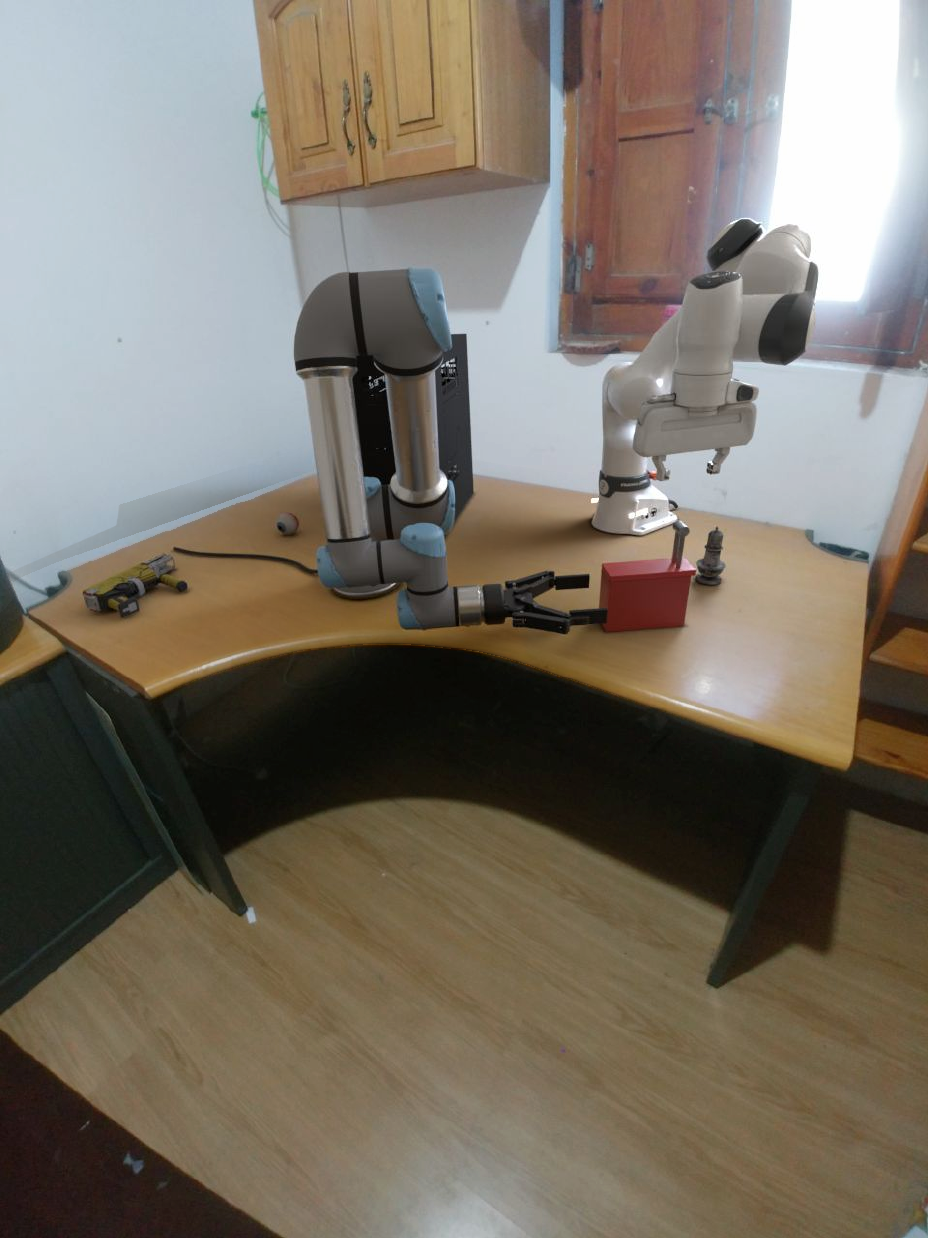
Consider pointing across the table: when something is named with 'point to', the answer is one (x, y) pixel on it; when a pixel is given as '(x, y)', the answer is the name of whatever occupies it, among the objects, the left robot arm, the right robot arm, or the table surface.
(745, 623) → the table surface
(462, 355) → the black tall block
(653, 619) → the chest
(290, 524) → the eyeball
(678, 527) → the lid
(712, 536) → the grey chess bishop
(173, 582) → the toy gun
